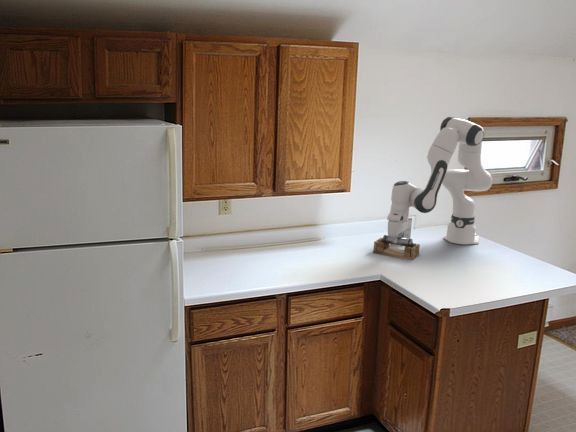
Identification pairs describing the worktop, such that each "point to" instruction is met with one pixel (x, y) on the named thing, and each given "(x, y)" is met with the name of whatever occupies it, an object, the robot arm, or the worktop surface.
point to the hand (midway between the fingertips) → (397, 241)
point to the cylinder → (400, 242)
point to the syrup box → (408, 231)
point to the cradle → (396, 250)
